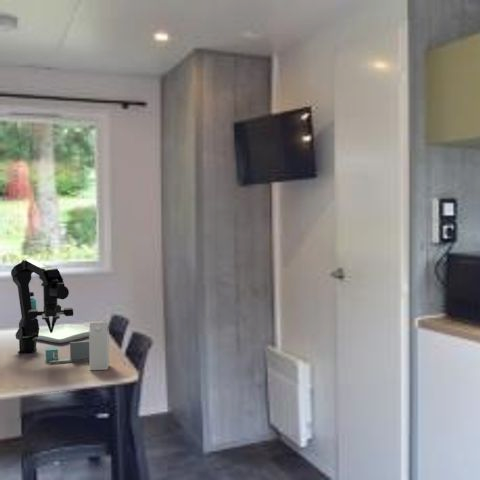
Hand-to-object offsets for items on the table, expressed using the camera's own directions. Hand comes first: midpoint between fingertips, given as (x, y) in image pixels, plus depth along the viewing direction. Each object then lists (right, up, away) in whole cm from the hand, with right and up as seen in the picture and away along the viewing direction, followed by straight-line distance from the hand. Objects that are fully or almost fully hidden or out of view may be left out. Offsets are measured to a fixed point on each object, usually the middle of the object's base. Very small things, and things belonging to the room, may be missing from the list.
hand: (51, 332), depth 261 cm
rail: (+11, -12, -2) cm, 16 cm away
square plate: (-8, -10, +45) cm, 46 cm away
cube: (0, -12, +1) cm, 12 cm away
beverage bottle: (-32, -8, +65) cm, 72 cm away
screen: (+15, -11, 0) cm, 18 cm away
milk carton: (+24, -13, -12) cm, 30 cm away
